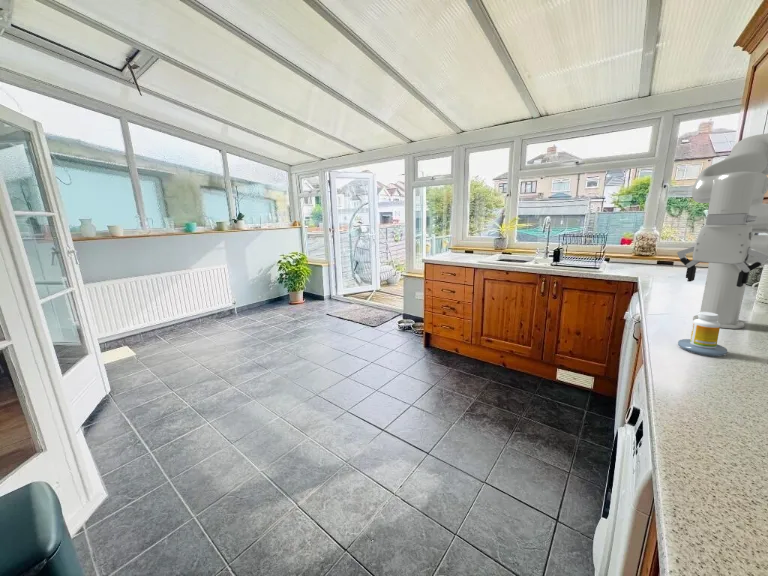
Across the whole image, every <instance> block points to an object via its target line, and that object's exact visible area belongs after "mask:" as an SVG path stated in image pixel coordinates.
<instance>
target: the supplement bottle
mask: <svg viewBox="0 0 768 576" xmlns="http://www.w3.org/2000/svg"><path fill="white" fill-rule="evenodd" d="M697 315H698V318H699V319H696V320H693V322H692V328H691V335H690V338H689V339H690V343H691V344H692V345H694V346H697V347H701V348H708V349H712V348H716V346H717V344H718V340H719V333H720V329H721V328H720V323H719V322H717V321H716V320H718V314H715V313H710V312H700V311H699V312H698V314H697Z"/></svg>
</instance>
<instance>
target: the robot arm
mask: <svg viewBox="0 0 768 576" xmlns="http://www.w3.org/2000/svg"><path fill="white" fill-rule="evenodd" d="M767 192H768V133H761V134H756V135H751V136H747V137H745V138H743V139H741V140H739V141H738V142H737V143H736V144H735V145H733V147H732V149H731V150H730V154H729V155H728V156H726V157H725V158H723V160H720V161H718V162H716V163H713V164H711V165H709V166H708V167H706V168H704V169H703V170H702V171H701V172H700V173H699V175H698V176H697V178H696V180H695V182H694V184H693V187H692V190H691V196H692V197H691V198H692V199H693V201H694V202H695V203H698V204H708V210H707V214H706V220H705V225H704V226H702V227H701V228H700V230H699V233H698V235H697V238H696V241H695V244H694V246H692V247H688V248H686V249H683V250H680V251H677V253H676V254H677V257H678V258H679V259H680V260H679V261H680V262H681V263H682V264H683V265H684V266H685V267H686V274H685V278H687V279H686V280H687V282H690V283H691V282H693V281H695V277H696V273H697V267H696V265H698V264H699V263H707V264H708V265H707V266H708V268H707V274H706V280H705V285H704V290H703V295H702V300H701V304H700V310H699V312H710V313H715V314H718V320H716V321H717V322H719V323H720V329H732V330H733V329H734V330H735V329H742V328H744V327H745V323H744V322H743V321H741V320H739V317H740V314H741V309H742V305H743V301H744V296H745V290H746V288H747V287H746V285H747V283H748V281H749V280H748V279H749V275H750V272H751V271H754V270H755V269H758V268H759V267H761V266H762V265H763V266H764V265H766V266H768V203H763V201H764V198H765V197H764V196H765V194H766V193H767ZM762 234H763V235H762ZM764 234H765V235H764ZM766 234H767V235H766ZM689 253H692V260H690V259H688V258H687V256H686V255H687V254H689ZM696 319H699V318H698V314H697V315H694V316H692V320H693V321H694V320H696Z"/></svg>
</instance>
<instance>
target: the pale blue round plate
mask: <svg viewBox="0 0 768 576" xmlns="http://www.w3.org/2000/svg"><path fill="white" fill-rule="evenodd" d="M690 339H691V338H684V339H683V338H682V339H679V340H678V342H677V345H678V347H679V348H681V349H684V350H685V351H687V352H690V353H693V354H696V355H701V356H707V357H719V356H722V357H723V356H725V355H727V353H728V349H727V348H726V347H725V346H723V345H720V344H718V343H717V346H716V348H712V349H708V348H701V347H697V346H694V345H692V344H691V343H690Z"/></svg>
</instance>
